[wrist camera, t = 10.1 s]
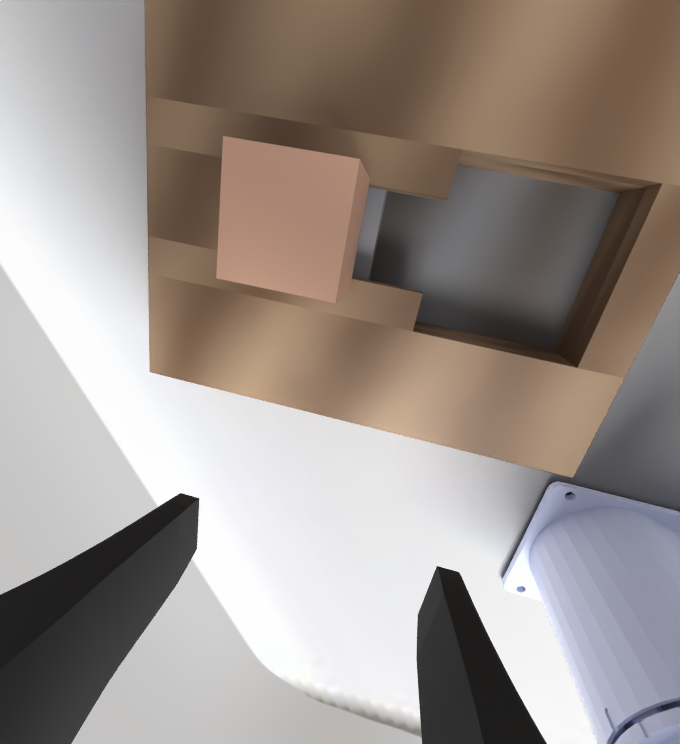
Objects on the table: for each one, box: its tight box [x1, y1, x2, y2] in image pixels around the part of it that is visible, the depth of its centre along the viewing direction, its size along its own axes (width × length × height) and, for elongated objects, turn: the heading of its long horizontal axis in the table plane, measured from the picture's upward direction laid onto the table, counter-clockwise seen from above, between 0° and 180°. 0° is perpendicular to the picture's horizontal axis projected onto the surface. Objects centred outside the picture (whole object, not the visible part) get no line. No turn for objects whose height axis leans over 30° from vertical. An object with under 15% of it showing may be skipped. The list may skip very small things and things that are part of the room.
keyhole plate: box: [145, 0, 680, 478], centre depth 15 cm, size 20×16×3 cm
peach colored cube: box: [216, 136, 388, 303], centre depth 13 cm, size 5×5×6 cm
